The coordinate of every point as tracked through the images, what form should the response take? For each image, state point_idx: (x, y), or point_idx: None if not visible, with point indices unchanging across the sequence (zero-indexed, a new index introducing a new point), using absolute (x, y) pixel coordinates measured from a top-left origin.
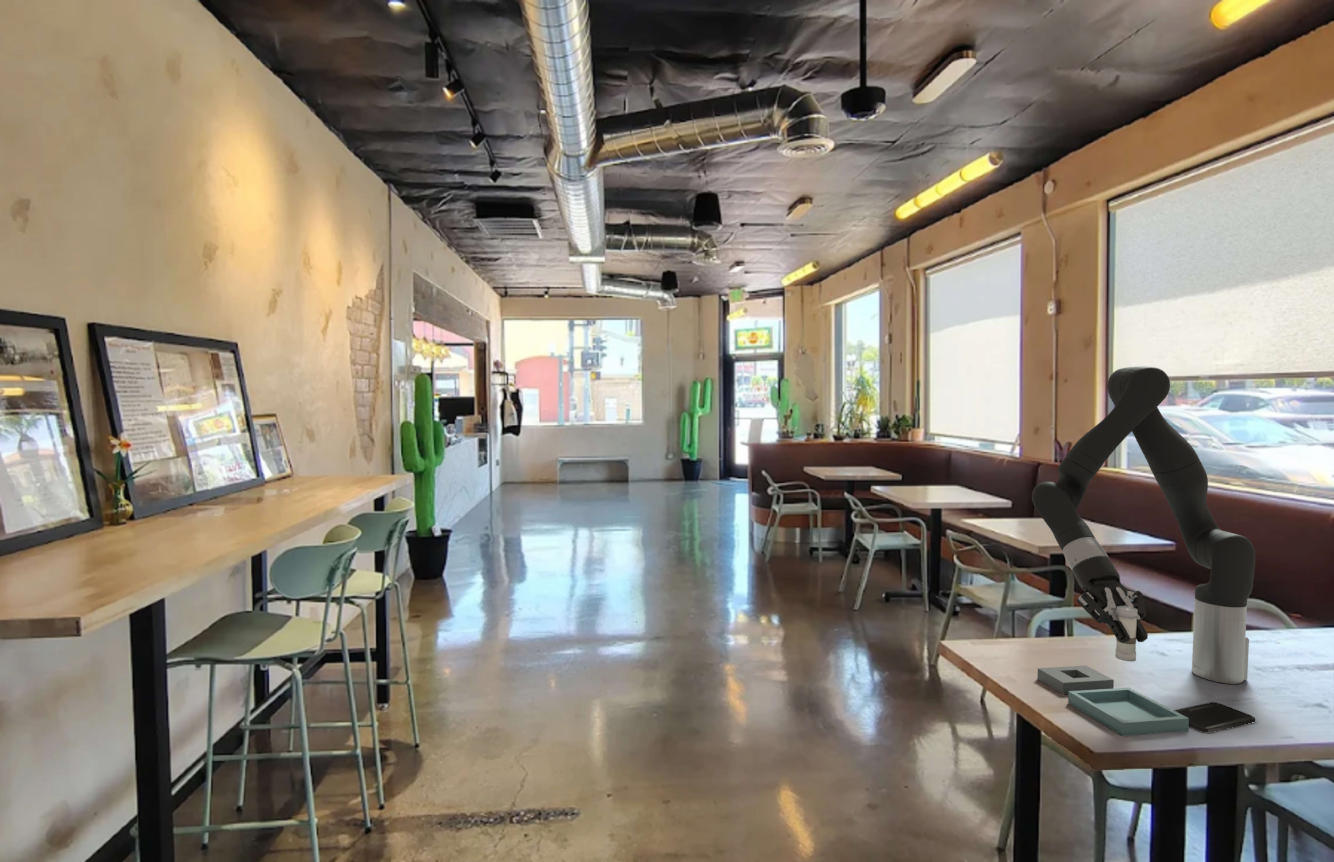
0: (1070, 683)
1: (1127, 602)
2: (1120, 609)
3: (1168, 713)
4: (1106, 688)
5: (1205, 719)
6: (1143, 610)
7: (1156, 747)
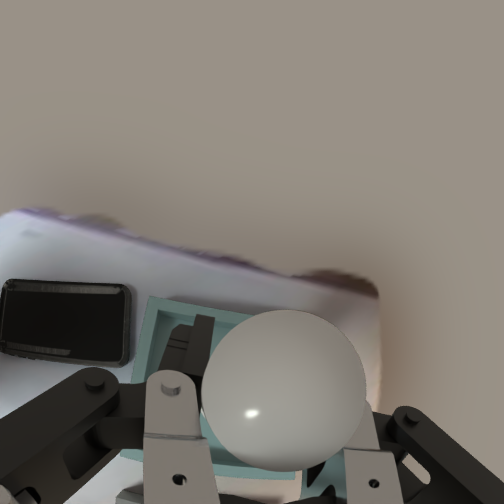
0: None
1: (188, 476)
2: (364, 383)
3: (153, 337)
4: (139, 496)
5: (80, 314)
6: (68, 393)
7: (275, 282)
